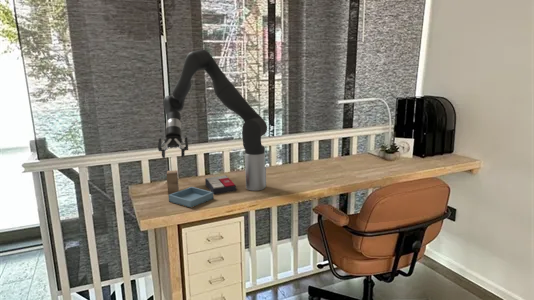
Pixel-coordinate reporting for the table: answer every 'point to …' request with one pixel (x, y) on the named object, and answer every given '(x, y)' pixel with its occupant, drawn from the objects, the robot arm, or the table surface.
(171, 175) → the walnut block
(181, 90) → the robot arm
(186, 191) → the tray
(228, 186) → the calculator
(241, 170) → the table surface
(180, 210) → the table surface
